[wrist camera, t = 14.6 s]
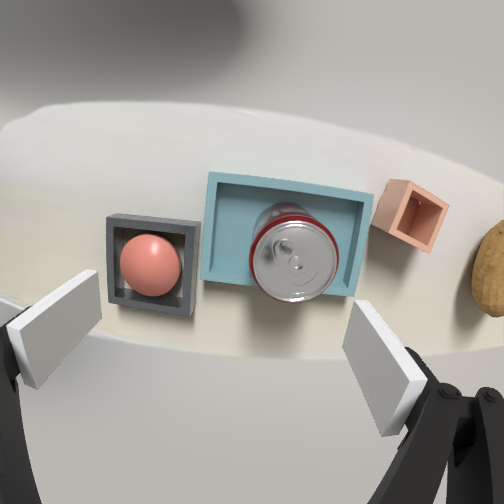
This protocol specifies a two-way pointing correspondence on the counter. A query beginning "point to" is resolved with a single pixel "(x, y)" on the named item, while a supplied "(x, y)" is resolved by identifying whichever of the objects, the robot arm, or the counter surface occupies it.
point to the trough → (261, 197)
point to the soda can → (292, 254)
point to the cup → (410, 213)
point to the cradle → (115, 276)
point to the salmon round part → (150, 264)
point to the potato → (490, 273)
